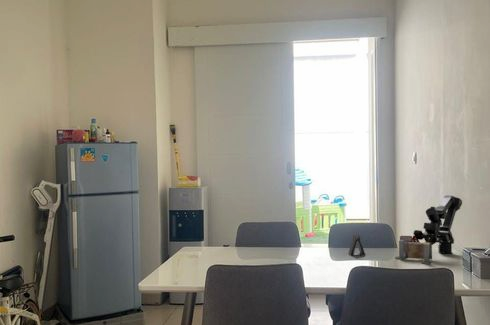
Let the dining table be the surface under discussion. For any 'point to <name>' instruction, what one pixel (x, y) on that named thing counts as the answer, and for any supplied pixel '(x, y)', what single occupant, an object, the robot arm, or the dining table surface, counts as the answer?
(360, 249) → the phone stand
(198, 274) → the dining table surface
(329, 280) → the dining table surface
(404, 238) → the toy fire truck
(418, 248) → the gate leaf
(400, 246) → the gate posts
